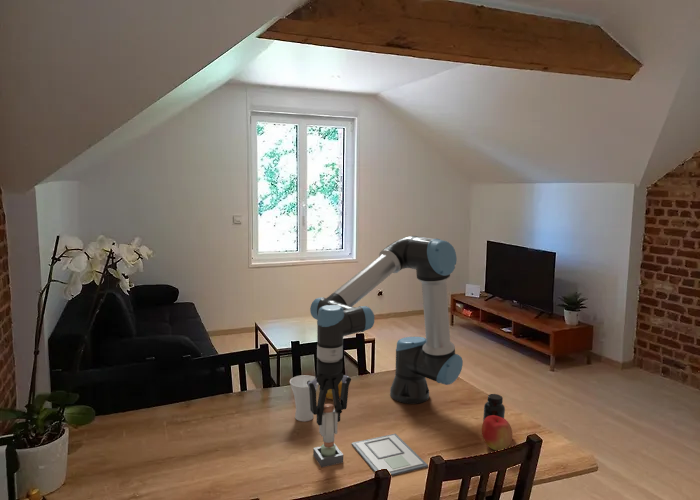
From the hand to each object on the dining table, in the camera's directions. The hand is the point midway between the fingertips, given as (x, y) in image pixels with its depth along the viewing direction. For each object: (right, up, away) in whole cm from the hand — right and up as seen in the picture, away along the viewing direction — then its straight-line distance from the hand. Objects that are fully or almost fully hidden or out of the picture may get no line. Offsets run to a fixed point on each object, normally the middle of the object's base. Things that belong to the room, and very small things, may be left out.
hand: (328, 432), depth 156 cm
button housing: (0, -8, +1) cm, 8 cm away
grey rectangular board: (+18, -8, +4) cm, 21 cm away
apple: (+53, -9, +10) cm, 55 cm away
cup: (-10, -4, +27) cm, 29 cm away
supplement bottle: (+55, -7, +22) cm, 60 cm away
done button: (0, -8, +1) cm, 8 cm away
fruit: (0, -2, +44) cm, 44 cm away
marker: (0, -4, 0) cm, 4 cm away
